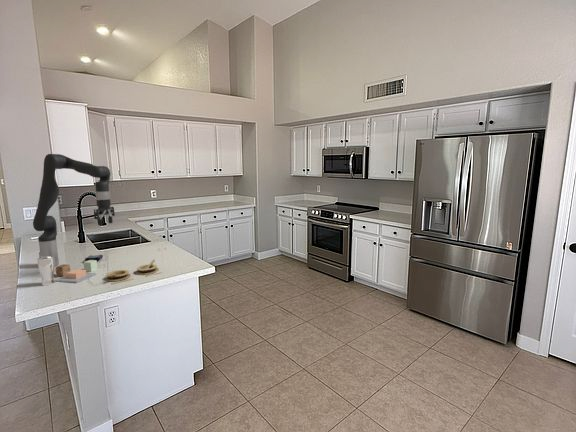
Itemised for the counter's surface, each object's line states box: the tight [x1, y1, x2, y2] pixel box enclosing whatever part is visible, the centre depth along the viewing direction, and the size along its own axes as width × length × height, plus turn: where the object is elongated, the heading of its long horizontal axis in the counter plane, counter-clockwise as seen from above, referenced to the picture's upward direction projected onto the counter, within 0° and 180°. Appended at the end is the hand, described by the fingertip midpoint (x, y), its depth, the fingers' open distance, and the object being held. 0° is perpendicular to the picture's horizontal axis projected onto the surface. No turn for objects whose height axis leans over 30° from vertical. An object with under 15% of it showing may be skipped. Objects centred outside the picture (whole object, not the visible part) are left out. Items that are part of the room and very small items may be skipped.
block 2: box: [83, 260, 98, 273], centre depth 196 cm, size 5×5×6 cm
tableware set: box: [105, 259, 163, 285], centre depth 189 cm, size 30×20×6 cm, turn 132°
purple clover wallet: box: [84, 254, 104, 262], centre depth 218 cm, size 9×3×11 cm
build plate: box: [55, 268, 97, 284], centre depth 182 cm, size 14×14×4 cm
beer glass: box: [37, 256, 56, 287], centre depth 172 cm, size 7×7×15 cm
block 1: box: [54, 263, 71, 278], centre depth 187 cm, size 5×5×6 cm
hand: (105, 224), depth 195 cm, fingers open, 8 cm apart
